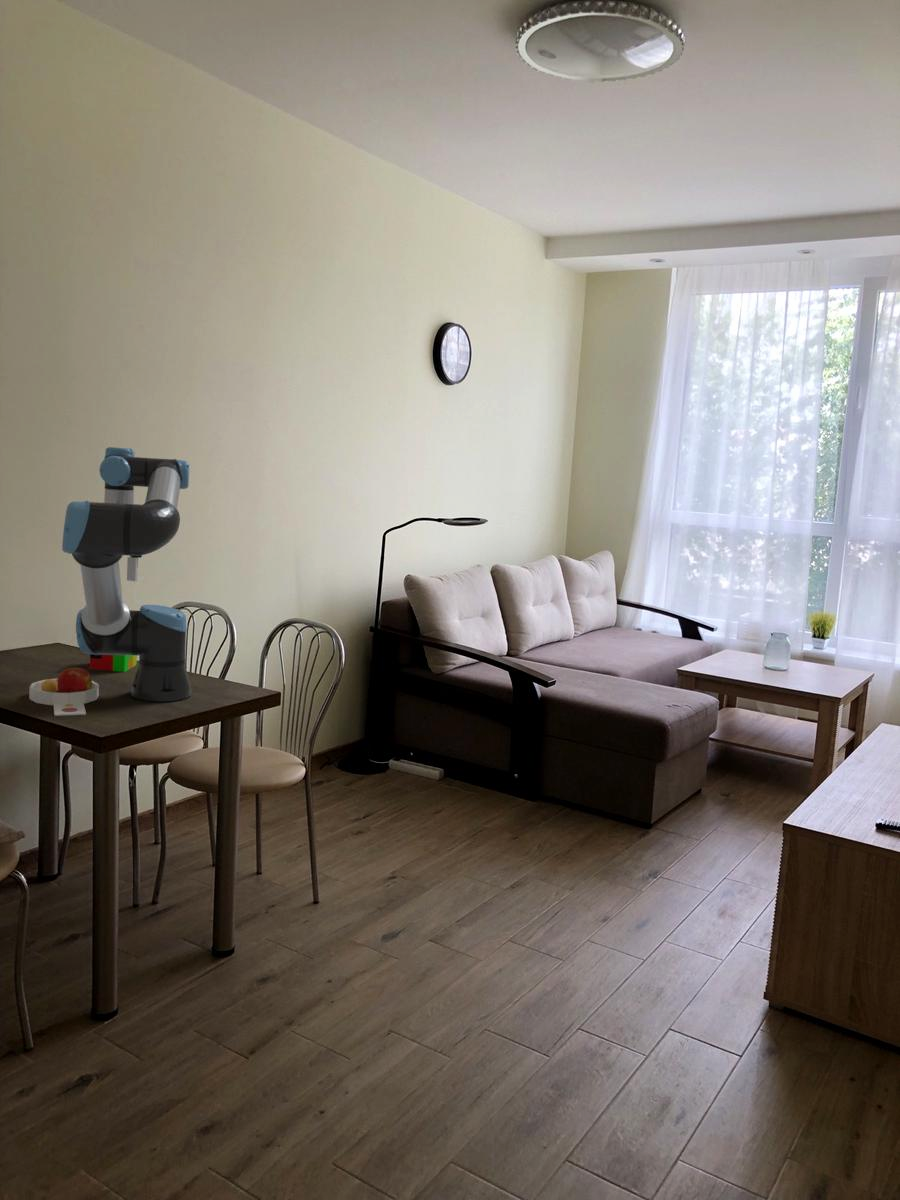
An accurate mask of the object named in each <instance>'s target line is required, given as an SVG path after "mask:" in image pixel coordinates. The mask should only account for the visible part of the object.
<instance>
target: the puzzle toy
mask: <svg viewBox="0 0 900 1200" xmlns="http://www.w3.org/2000/svg"><path fill="white" fill-rule="evenodd" d="M137 658H138V655H94V654H89V670H93V669H97V670H96V671H105V670H108V671H107V672H120V673H123V672H124V673H125V672H127V671H129V670H131V669H132V668H133V667H136V666H137V663H138V659H137Z"/></svg>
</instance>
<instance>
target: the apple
mask: <svg viewBox="0 0 900 1200" xmlns="http://www.w3.org/2000/svg"><path fill="white" fill-rule="evenodd" d="M57 678H58V690H57V691H58V692H57V693H71V692H80V691H86V690H89V689H91V687H92V681H93V680H92V676H91V674H90V672H89V671H88V670H86V669H84V668H82V667H77V666H76V667H75V666H74V667H73V666H72V667H67V668H65V669H64V670H62V671H61V672H59V674H58V675H57Z"/></svg>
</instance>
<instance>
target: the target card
mask: <svg viewBox="0 0 900 1200" xmlns="http://www.w3.org/2000/svg"><path fill="white" fill-rule="evenodd" d="M53 715H54V717H58V716H86V715H87V712H86V708H85V704H84V702H83V703H72V704H54V705H53Z"/></svg>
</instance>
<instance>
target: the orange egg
mask: <svg viewBox="0 0 900 1200" xmlns="http://www.w3.org/2000/svg"><path fill="white" fill-rule="evenodd" d="M47 679H48V678H47ZM47 679H44V680H45V681H44V682H43V683H42V686H41V689H42V691H45V692H52V693H58V692H57V691H58V684H57V682H56V681H54V680H52V679H53V678H50V679H48V680H47Z"/></svg>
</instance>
